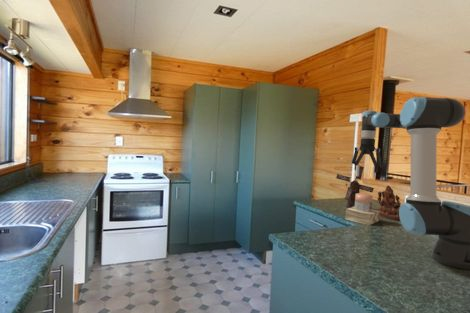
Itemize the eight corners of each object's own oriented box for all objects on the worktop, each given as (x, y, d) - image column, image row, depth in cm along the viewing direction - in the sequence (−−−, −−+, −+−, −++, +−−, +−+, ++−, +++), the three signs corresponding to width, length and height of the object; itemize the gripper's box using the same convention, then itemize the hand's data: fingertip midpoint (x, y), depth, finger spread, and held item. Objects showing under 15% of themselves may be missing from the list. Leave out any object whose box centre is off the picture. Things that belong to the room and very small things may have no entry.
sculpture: (406, 220, 170) (409, 187, 169) (396, 221, 167) (399, 187, 166) (382, 213, 186) (385, 182, 184) (373, 214, 183) (375, 183, 181)
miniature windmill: (332, 207, 197) (335, 164, 195) (335, 204, 207) (338, 163, 204) (372, 213, 185) (375, 167, 183) (373, 209, 195) (376, 165, 193)
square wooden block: (369, 225, 158) (370, 214, 158) (345, 219, 168) (345, 209, 168) (379, 220, 168) (379, 210, 167) (355, 215, 178) (356, 205, 177)
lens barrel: (367, 212, 161) (367, 203, 161) (352, 209, 167) (353, 201, 167) (373, 210, 167) (373, 202, 167) (358, 207, 173) (359, 199, 173)
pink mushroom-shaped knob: (367, 212, 161) (368, 197, 160) (351, 209, 167) (353, 194, 167) (373, 210, 167) (375, 195, 167) (358, 207, 174) (359, 192, 173)
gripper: (390, 138, 159) (387, 179, 161) (352, 137, 175) (349, 174, 176) (385, 138, 154) (382, 180, 156) (346, 137, 170) (344, 175, 171)
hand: (365, 177), depth 166 cm, fingers open, 9 cm apart
